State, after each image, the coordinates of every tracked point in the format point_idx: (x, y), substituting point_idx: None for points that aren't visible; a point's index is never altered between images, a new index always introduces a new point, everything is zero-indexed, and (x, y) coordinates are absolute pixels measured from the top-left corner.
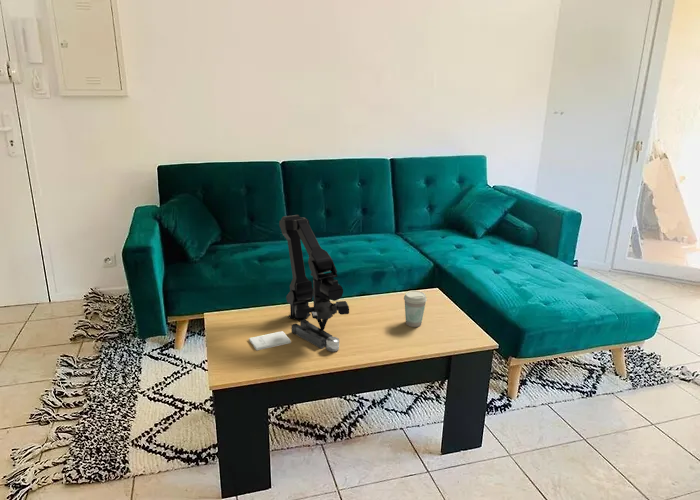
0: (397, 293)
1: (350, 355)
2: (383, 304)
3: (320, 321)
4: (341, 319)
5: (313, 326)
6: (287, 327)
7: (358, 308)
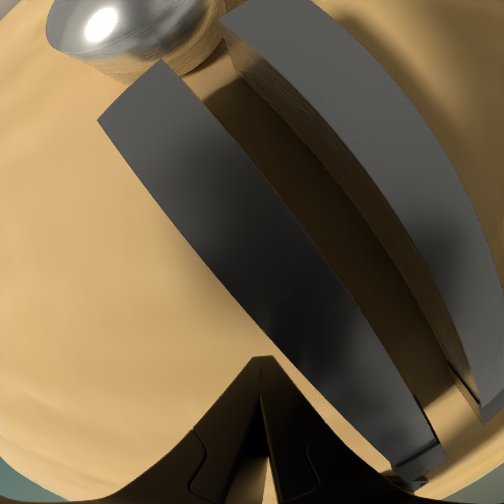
0: (54, 492)
1: None
2: (53, 478)
3: (305, 477)
4: None
5: (379, 411)
6: None
7: None
